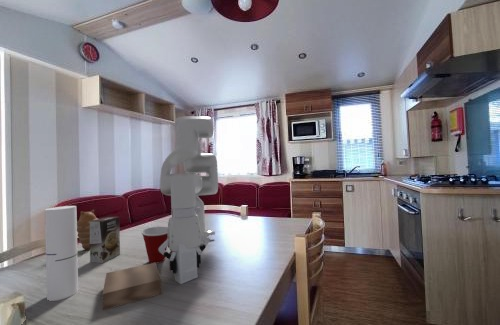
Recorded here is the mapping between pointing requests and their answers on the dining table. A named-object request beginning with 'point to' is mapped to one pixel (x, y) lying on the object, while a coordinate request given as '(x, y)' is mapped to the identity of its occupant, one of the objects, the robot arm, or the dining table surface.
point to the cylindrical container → (61, 252)
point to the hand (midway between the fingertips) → (185, 268)
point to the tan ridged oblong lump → (85, 228)
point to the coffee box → (104, 239)
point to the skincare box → (185, 264)
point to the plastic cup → (155, 242)
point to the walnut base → (131, 285)
